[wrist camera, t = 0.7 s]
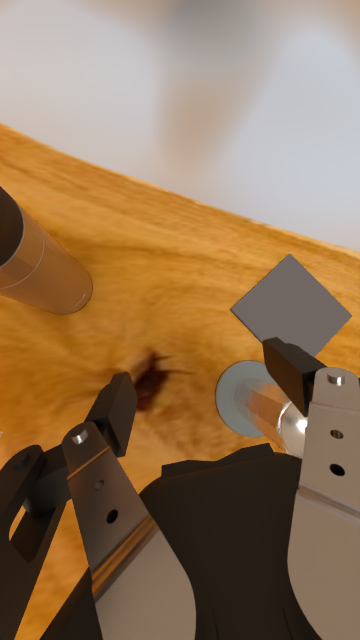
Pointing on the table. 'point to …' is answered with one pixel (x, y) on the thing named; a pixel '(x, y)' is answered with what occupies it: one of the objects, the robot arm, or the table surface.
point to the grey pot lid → (227, 390)
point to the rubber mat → (292, 308)
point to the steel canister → (272, 414)
